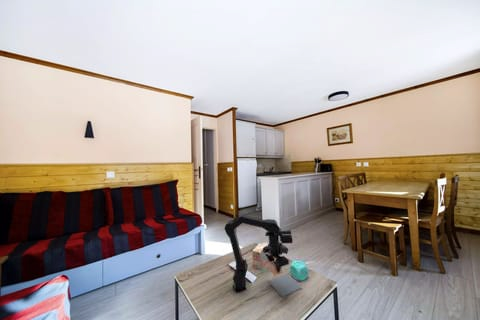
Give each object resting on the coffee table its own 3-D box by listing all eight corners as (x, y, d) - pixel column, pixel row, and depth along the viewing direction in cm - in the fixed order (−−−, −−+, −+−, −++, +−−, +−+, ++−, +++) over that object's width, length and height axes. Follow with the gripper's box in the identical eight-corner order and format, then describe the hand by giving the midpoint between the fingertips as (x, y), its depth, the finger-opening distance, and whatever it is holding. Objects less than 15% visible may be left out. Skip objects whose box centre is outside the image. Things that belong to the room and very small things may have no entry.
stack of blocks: (264, 253, 141) (263, 238, 142) (272, 255, 138) (271, 239, 139) (253, 267, 123) (252, 250, 123) (261, 270, 120) (260, 252, 120)
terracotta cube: (274, 275, 97) (274, 266, 98) (269, 270, 102) (269, 262, 102) (282, 273, 99) (281, 264, 99) (277, 268, 104) (276, 259, 104)
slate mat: (281, 297, 95) (281, 295, 95) (268, 281, 108) (268, 280, 108) (301, 288, 100) (301, 287, 100) (286, 274, 113) (286, 274, 113)
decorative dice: (308, 278, 109) (307, 265, 109) (299, 282, 106) (298, 269, 106) (299, 271, 116) (298, 259, 117) (289, 275, 113) (289, 262, 113)
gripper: (295, 246, 95) (297, 275, 95) (276, 234, 113) (278, 258, 112) (278, 251, 91) (280, 281, 91) (261, 238, 109) (263, 263, 108)
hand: (275, 270), depth 101 cm, fingers closed on terracotta cube, 5 cm apart
